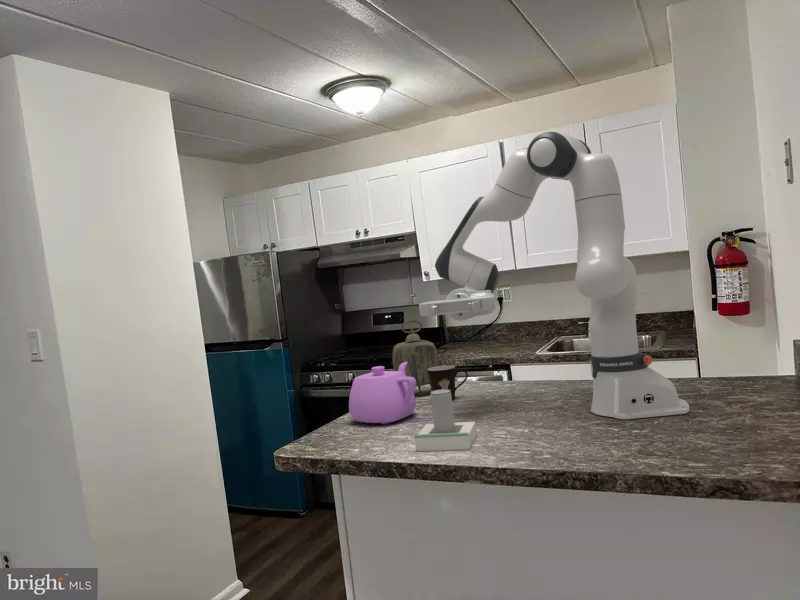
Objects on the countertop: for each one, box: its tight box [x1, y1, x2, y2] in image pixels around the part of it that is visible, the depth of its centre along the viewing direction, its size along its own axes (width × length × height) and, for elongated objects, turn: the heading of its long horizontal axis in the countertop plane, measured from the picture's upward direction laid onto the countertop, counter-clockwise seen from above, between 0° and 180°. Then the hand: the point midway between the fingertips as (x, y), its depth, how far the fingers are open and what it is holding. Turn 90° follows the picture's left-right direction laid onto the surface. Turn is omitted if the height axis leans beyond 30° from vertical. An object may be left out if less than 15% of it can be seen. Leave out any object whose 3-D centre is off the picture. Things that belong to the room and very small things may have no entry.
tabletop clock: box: [392, 319, 440, 397], centre depth 193 cm, size 14×9×25 cm, turn 98°
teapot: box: [348, 362, 417, 425], centre depth 166 cm, size 23×21×15 cm
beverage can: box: [429, 389, 456, 434], centre depth 134 cm, size 5×5×12 cm
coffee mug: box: [428, 365, 469, 401], centre depth 181 cm, size 12×9×10 cm
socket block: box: [414, 421, 478, 452], centre depth 134 cm, size 12×12×4 cm
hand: (452, 308), depth 147 cm, fingers open, 8 cm apart
